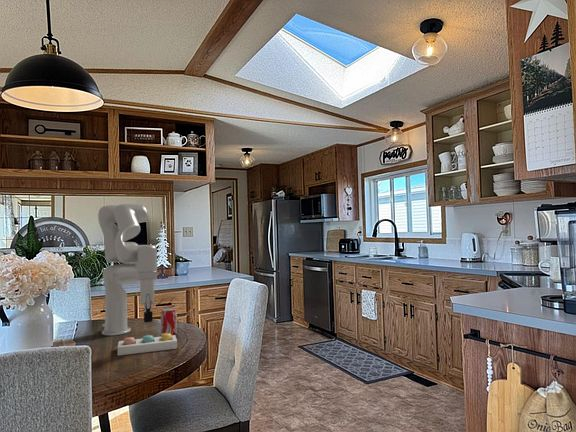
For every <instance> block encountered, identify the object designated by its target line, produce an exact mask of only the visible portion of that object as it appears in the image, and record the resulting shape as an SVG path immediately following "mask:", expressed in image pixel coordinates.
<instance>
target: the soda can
mask: <svg viewBox="0 0 576 432" xmlns="http://www.w3.org/2000/svg"><path fill="white" fill-rule="evenodd" d="M165 333H170V334H171V335H175V336H176V335H177V334H178V313H177V310H176V308H174V307H166V308H162V309H161V313H160V335H161V334H165Z"/></svg>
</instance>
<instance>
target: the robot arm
mask: <svg viewBox="0 0 576 432" xmlns="http://www.w3.org/2000/svg"><path fill="white" fill-rule="evenodd" d="M97 214H98V215H97V217H98V218H97V219H98V225H99V227H100V229H101V232H102V235H103V246H104V249H103V250H104V258H105V260H106V261H107V262H109V263H121V264H113V265H109V266H106V267H105V268H104V269H103V272H102V278H103V279H102V280H103V284H104V295H105V297H104V301H105V302H104V307H105V308H104V309H105V311H104V315H105V317H104V319H105V321H104V323H102V324H101V327H102V328H104V329H103V330H101V335H103V336H119V335H124V334H127V333H130V332H131V330H132V328H131V327H128V294H127V291H126V290H125V289H124V287H123V286H124V285H131V284H139V283H140V285H139V291H140V293H139V295H140V296H139V297H140V298H139V299H140V300H139V301H140V306H143V305H144V311H143V322H144V323H153V308H152V307H153V304H154V302H155V280H158V253H157V252H158V251H157V246H155V245H153V244H151V245H150V244H138V243H137V242H135V241H134V242H133V241H129V240H132V239H134V238H135V237H137V236H138V235H139V234H140V232H141V226H140V224H141V223H145V222H147V218H148V209H147V208H146V207H145V206H144V205H143V204H138V203H137V204H135V203H134V204H132V203H130V204H129V203H123V204H122V203H121V204H116V205H115V204H113V205H112V204H111V205H110V204H108V205H103V206H101V207H99V210H98V213H97Z"/></svg>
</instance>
